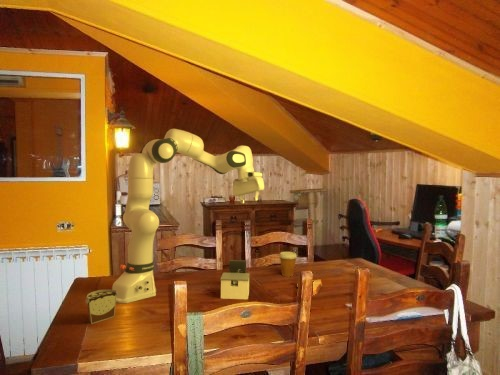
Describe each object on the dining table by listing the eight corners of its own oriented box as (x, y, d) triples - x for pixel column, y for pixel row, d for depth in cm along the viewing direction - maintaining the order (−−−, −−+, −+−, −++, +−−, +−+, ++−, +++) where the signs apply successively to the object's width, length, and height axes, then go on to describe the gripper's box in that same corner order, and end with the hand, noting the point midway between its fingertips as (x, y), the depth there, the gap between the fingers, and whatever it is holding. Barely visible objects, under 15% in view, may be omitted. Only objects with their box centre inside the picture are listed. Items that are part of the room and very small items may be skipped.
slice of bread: (308, 297, 177) (308, 289, 177) (285, 286, 192) (285, 279, 192) (337, 291, 186) (338, 283, 186) (313, 281, 201) (313, 274, 201)
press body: (223, 291, 183) (223, 272, 182) (249, 292, 182) (249, 273, 182) (220, 298, 172) (220, 278, 172) (248, 299, 172) (248, 279, 171)
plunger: (229, 282, 190) (229, 259, 190) (245, 282, 190) (246, 260, 190) (225, 293, 174) (225, 268, 173) (243, 293, 173) (243, 269, 173)
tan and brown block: (109, 311, 155) (109, 287, 154) (117, 315, 151) (117, 290, 150) (79, 320, 145) (78, 294, 145) (87, 325, 141) (87, 298, 141)
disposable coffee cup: (297, 277, 207) (297, 255, 206) (279, 277, 207) (279, 255, 207) (295, 273, 216) (296, 251, 216) (278, 272, 217) (278, 251, 216)
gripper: (228, 179, 211) (231, 204, 209) (256, 172, 197) (259, 199, 195) (236, 180, 215) (239, 204, 213) (264, 172, 202) (267, 199, 200)
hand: (249, 201), depth 204 cm, fingers open, 8 cm apart
